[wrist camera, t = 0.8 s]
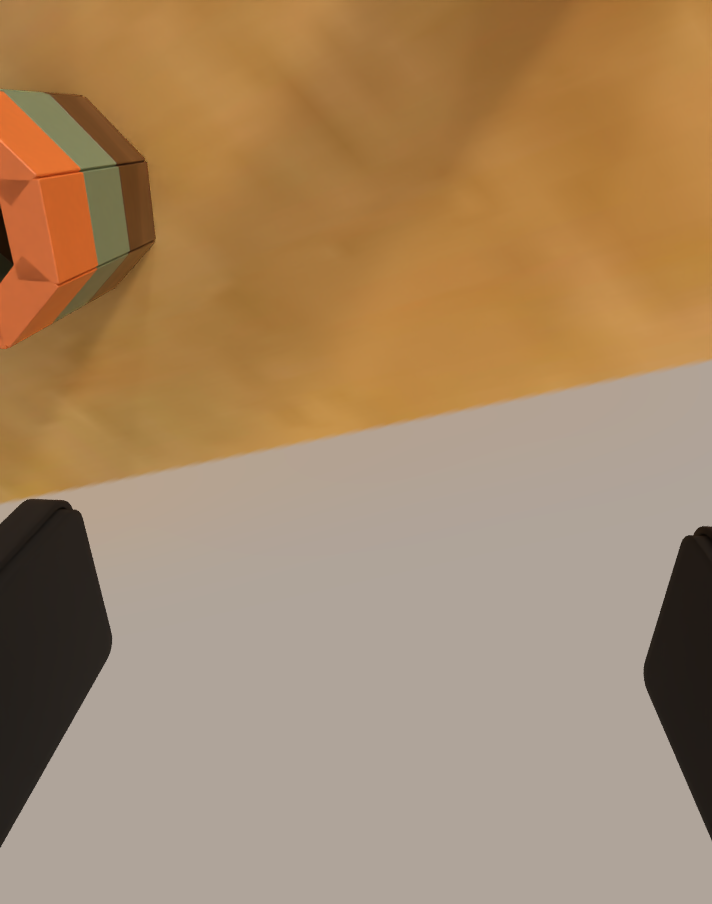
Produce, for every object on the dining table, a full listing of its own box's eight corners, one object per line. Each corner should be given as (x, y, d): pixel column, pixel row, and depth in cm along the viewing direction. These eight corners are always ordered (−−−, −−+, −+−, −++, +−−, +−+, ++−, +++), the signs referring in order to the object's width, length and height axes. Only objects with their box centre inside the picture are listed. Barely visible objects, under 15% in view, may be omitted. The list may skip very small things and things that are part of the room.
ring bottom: (-47, 89, 35) (-98, 86, 32) (139, 97, 35) (109, 94, 31) (-1, 282, 40) (-40, 297, 37) (161, 292, 40) (138, 308, 36)
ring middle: (-98, 86, 32) (-162, 81, 28) (109, 94, 31) (70, 91, 28) (-40, 297, 37) (-87, 316, 33) (138, 308, 36) (108, 328, 33)
